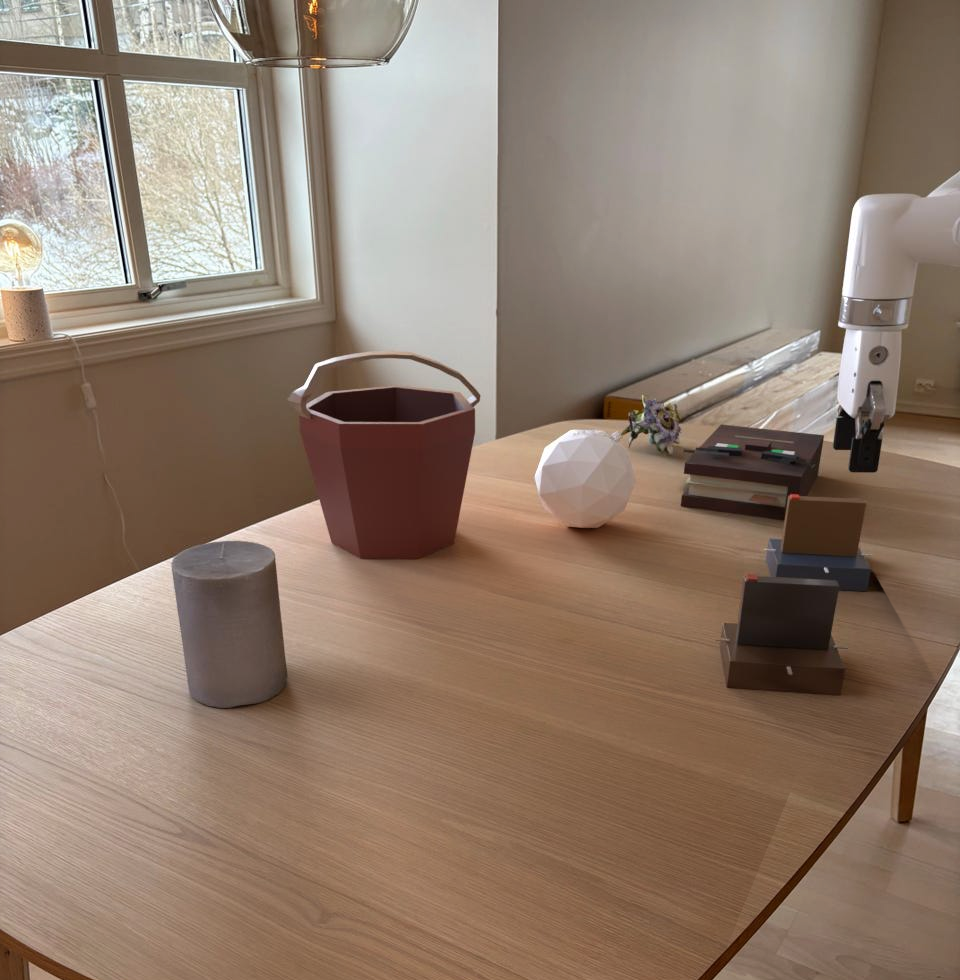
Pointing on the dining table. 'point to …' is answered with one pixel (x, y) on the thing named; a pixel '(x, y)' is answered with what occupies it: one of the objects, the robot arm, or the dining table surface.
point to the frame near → (786, 612)
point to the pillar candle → (230, 622)
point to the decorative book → (751, 470)
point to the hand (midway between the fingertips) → (853, 460)
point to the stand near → (780, 666)
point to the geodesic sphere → (585, 478)
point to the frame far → (822, 525)
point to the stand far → (819, 567)
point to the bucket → (388, 460)
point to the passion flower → (656, 425)
